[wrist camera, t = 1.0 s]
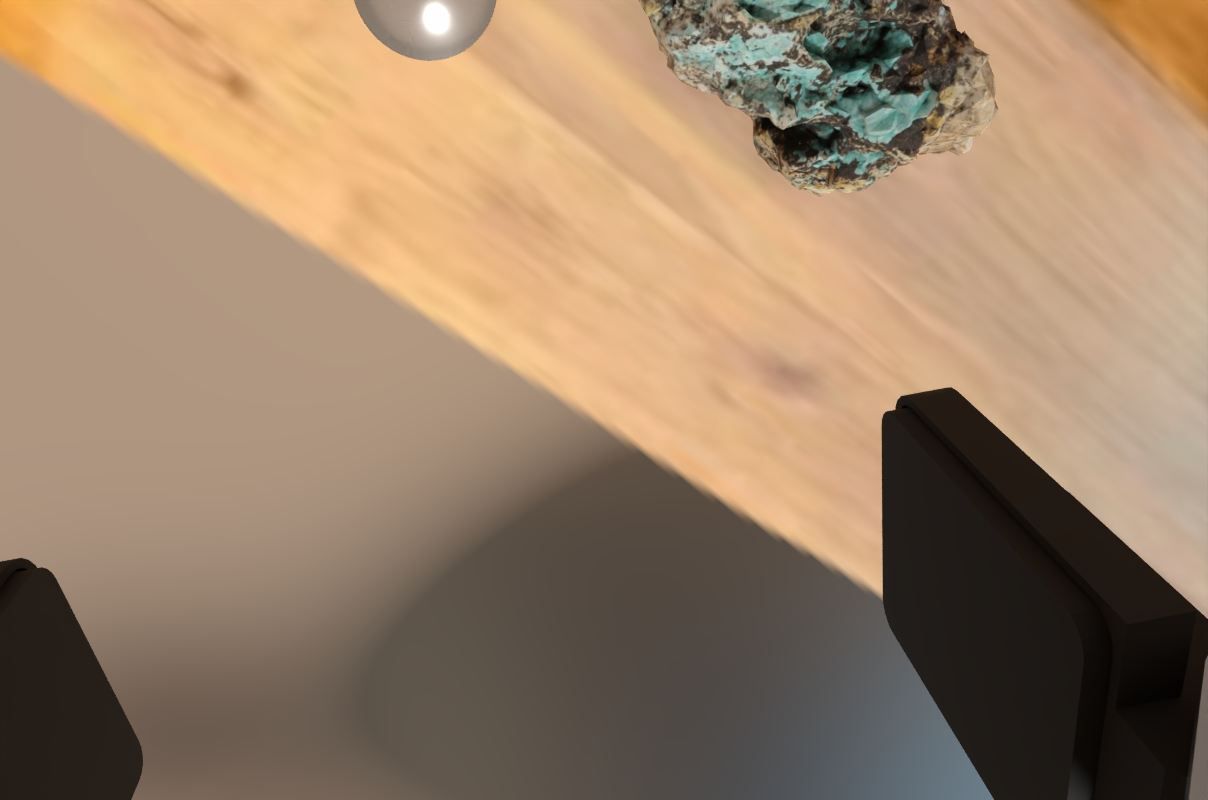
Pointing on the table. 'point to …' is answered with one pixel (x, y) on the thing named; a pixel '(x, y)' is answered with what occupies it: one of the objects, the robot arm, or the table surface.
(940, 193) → the table surface
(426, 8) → the short pin
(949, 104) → the mineral specimen
